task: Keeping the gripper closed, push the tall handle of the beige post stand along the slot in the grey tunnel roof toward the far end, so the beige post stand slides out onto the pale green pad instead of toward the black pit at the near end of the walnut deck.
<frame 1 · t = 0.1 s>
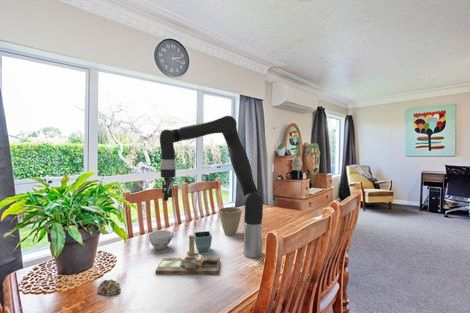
hand: (168, 199, 133), 29 cm above the table, fingers open, 8 cm apart
plant pot: (230, 234, 167), on the table
flower pot: (202, 250, 139), on the table
deck: (189, 267, 119), on the table
grey stone bowl: (162, 247, 143), on the table
mineral rock: (109, 291, 100), on the table
beige post stand: (191, 249, 119), point 8 cm above the table, slide at 0.0 cm
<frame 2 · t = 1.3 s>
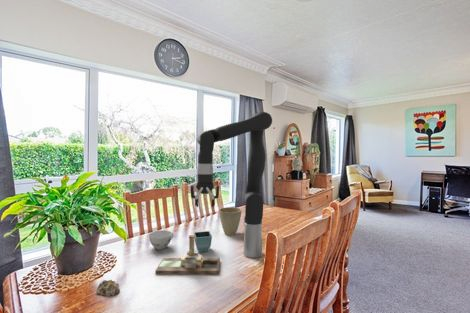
hand: (204, 206, 124), 28 cm above the table, fingers open, 7 cm apart
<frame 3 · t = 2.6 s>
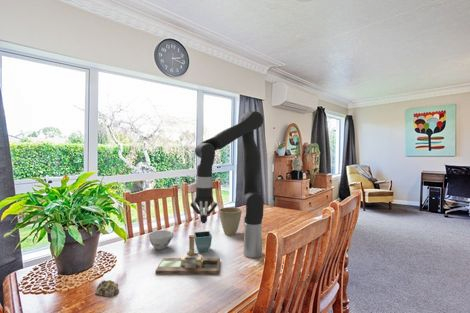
hand: (203, 222, 119), 21 cm above the table, fingers closed
nothing on the table moved.
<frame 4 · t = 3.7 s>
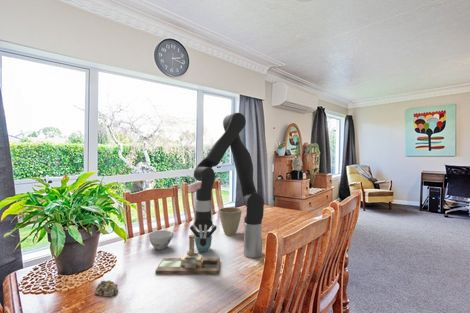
hand: (203, 245, 119), 10 cm above the table, fingers closed
nothing on the table moved.
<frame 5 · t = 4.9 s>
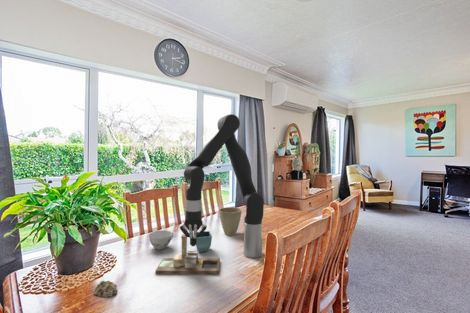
hand: (193, 245, 119), 10 cm above the table, fingers closed
beige post stand: (184, 249, 119), point 8 cm above the table, slide at 3.5 cm, touching gripper
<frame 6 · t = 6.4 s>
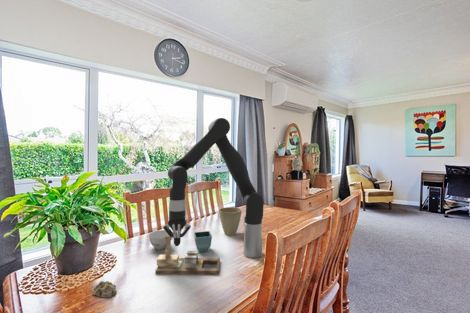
hand: (177, 245, 119), 10 cm above the table, fingers closed
beige post stand: (168, 249, 119), point 8 cm above the table, slide at 11.0 cm, touching gripper, hand
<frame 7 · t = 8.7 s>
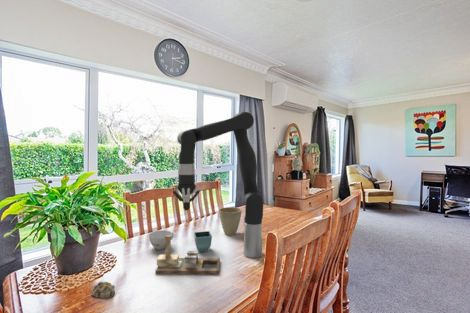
hand: (186, 209, 120), 27 cm above the table, fingers closed
beige post stand: (168, 249, 119), point 8 cm above the table, slide at 11.0 cm
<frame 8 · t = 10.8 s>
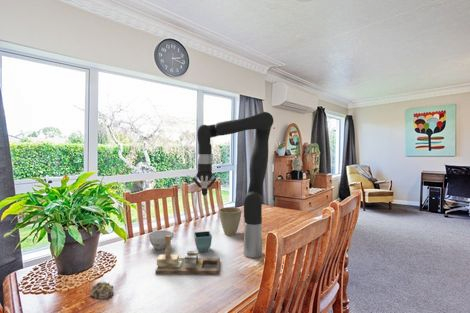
hand: (204, 195, 135), 31 cm above the table, fingers closed
at the end: beige post stand slide at 11.0 cm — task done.
